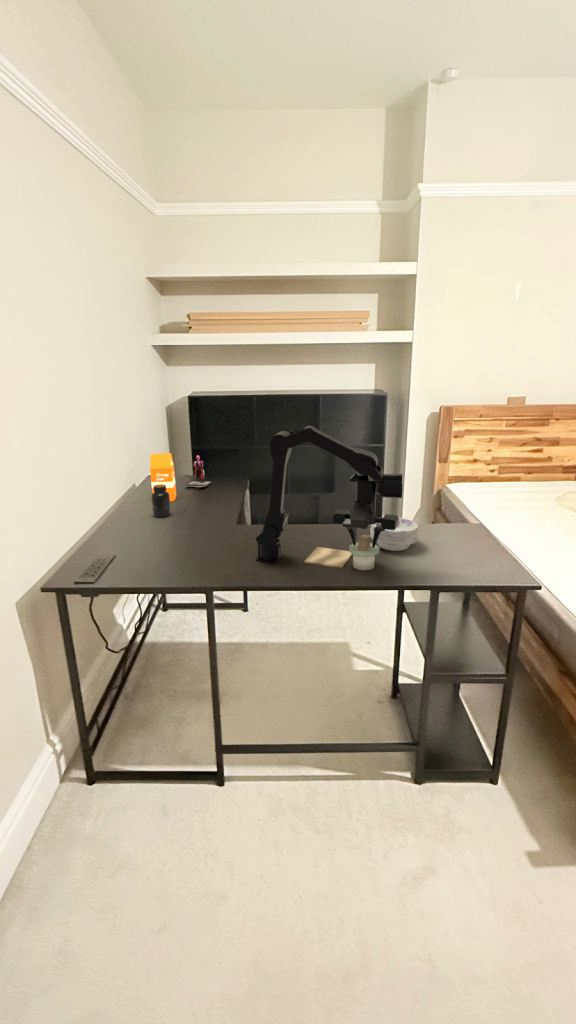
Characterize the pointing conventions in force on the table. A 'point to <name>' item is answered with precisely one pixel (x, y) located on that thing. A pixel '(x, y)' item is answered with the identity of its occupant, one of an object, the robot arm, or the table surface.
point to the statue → (198, 475)
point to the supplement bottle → (161, 501)
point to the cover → (364, 547)
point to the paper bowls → (397, 535)
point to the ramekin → (363, 562)
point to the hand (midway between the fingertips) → (364, 546)
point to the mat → (329, 557)
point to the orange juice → (163, 472)
